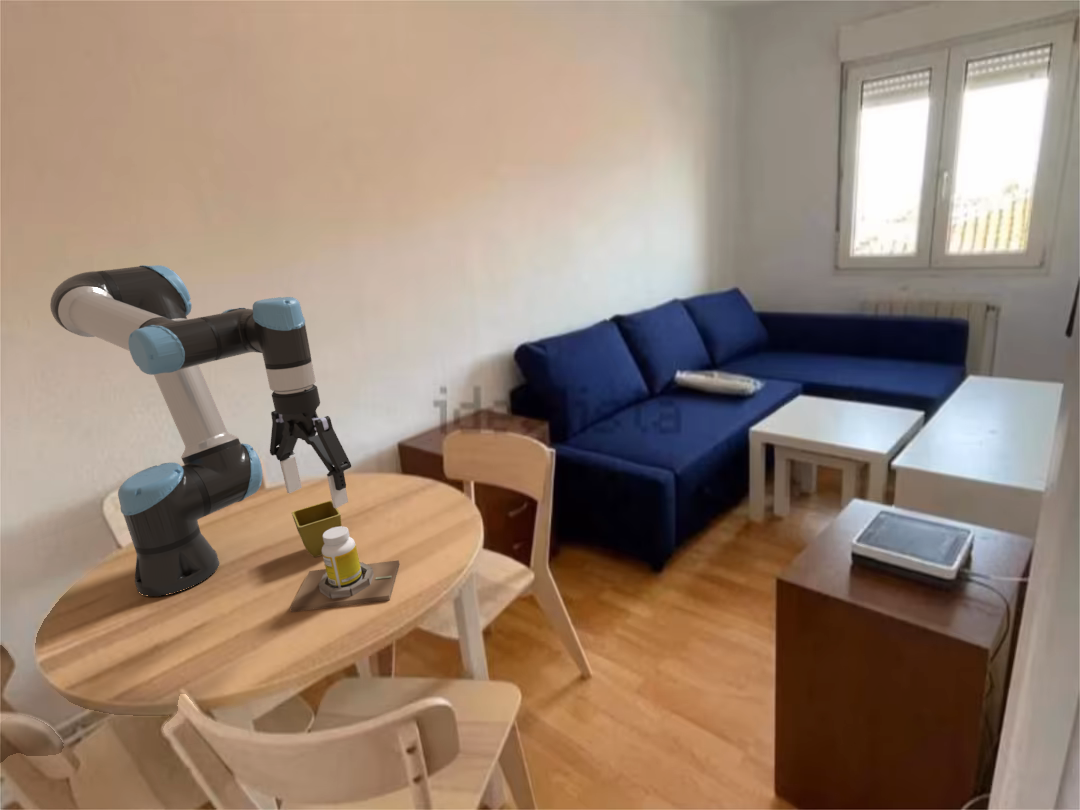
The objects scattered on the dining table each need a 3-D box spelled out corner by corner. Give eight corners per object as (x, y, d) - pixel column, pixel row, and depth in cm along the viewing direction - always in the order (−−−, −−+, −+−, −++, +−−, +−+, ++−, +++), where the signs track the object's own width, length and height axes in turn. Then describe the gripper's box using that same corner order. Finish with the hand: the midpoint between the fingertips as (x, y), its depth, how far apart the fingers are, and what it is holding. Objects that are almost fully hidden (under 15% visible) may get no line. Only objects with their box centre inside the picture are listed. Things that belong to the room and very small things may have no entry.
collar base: (291, 612, 109) (288, 601, 108) (310, 575, 120) (308, 564, 120) (389, 600, 110) (387, 588, 109) (399, 564, 121) (397, 554, 121)
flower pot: (349, 551, 128) (341, 513, 126) (307, 565, 124) (297, 527, 122) (339, 535, 136) (331, 499, 133) (299, 548, 132) (290, 511, 129)
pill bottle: (367, 572, 118) (357, 523, 114) (356, 591, 112) (345, 539, 108) (336, 574, 118) (325, 525, 115) (324, 593, 112) (312, 541, 109)
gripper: (358, 388, 100) (378, 502, 106) (271, 376, 113) (293, 477, 120) (321, 401, 94) (345, 520, 100) (233, 386, 107) (259, 492, 114)
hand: (317, 497), depth 110 cm, fingers open, 13 cm apart
